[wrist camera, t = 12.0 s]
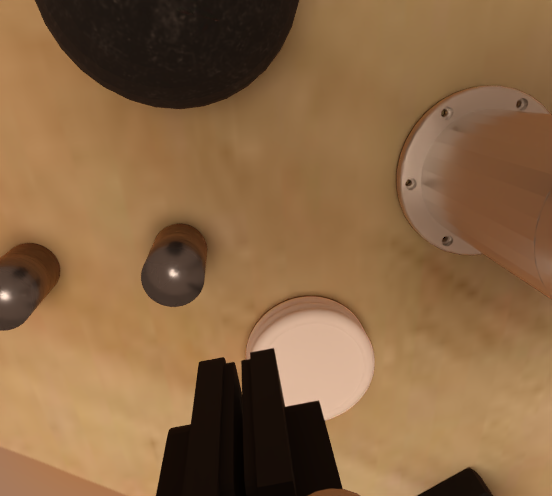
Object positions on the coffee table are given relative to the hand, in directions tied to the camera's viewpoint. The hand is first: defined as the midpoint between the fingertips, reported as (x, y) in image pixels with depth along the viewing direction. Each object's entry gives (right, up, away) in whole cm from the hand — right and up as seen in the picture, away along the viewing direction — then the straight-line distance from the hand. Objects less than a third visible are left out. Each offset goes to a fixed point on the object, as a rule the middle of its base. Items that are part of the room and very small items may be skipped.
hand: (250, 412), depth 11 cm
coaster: (+3, -5, +32) cm, 32 cm away
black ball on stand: (-5, +20, +22) cm, 31 cm away
